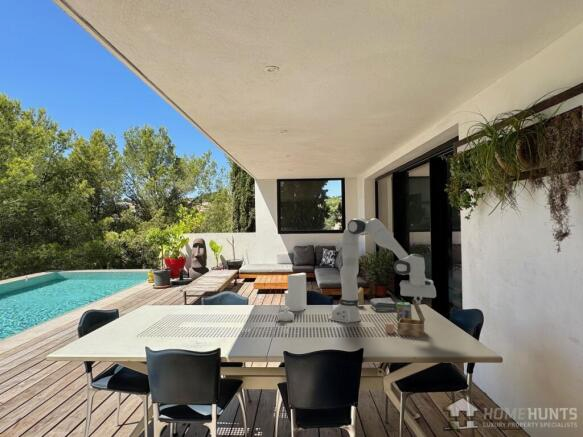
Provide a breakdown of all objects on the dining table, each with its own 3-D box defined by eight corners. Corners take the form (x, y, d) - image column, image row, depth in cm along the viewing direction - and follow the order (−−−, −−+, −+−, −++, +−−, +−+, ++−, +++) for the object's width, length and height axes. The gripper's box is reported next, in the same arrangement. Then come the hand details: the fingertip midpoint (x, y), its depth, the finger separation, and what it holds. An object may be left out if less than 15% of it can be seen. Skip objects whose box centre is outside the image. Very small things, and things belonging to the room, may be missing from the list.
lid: (412, 301, 201) (413, 301, 201) (414, 298, 211) (416, 297, 211) (422, 324, 199) (424, 324, 198) (424, 319, 209) (425, 319, 208)
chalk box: (411, 322, 230) (411, 300, 230) (397, 321, 232) (397, 299, 232) (410, 318, 239) (409, 297, 239) (396, 318, 241) (396, 297, 241)
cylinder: (311, 308, 272) (310, 273, 272) (296, 313, 259) (295, 276, 260) (295, 305, 283) (294, 271, 284) (280, 309, 271) (279, 274, 272)
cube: (385, 332, 208) (385, 323, 208) (386, 330, 212) (386, 322, 212) (393, 333, 206) (392, 324, 206) (394, 331, 210) (394, 322, 210)
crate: (397, 334, 205) (397, 322, 205) (400, 329, 215) (400, 318, 215) (422, 337, 199) (422, 325, 199) (424, 332, 208) (424, 320, 209)
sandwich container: (342, 305, 281) (342, 287, 282) (360, 304, 282) (360, 286, 283) (345, 308, 273) (344, 289, 273) (363, 307, 274) (363, 288, 274)
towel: (369, 307, 274) (369, 297, 274) (391, 306, 275) (391, 297, 275) (375, 312, 258) (375, 301, 259) (398, 311, 260) (398, 301, 260)
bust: (294, 320, 240) (293, 303, 240) (294, 323, 232) (294, 306, 233) (277, 320, 239) (276, 304, 240) (277, 323, 232) (276, 306, 232)
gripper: (398, 281, 207) (399, 303, 207) (435, 282, 198) (436, 306, 198) (400, 279, 213) (401, 301, 212) (435, 281, 204) (436, 304, 203)
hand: (418, 304), depth 205 cm, fingers closed
